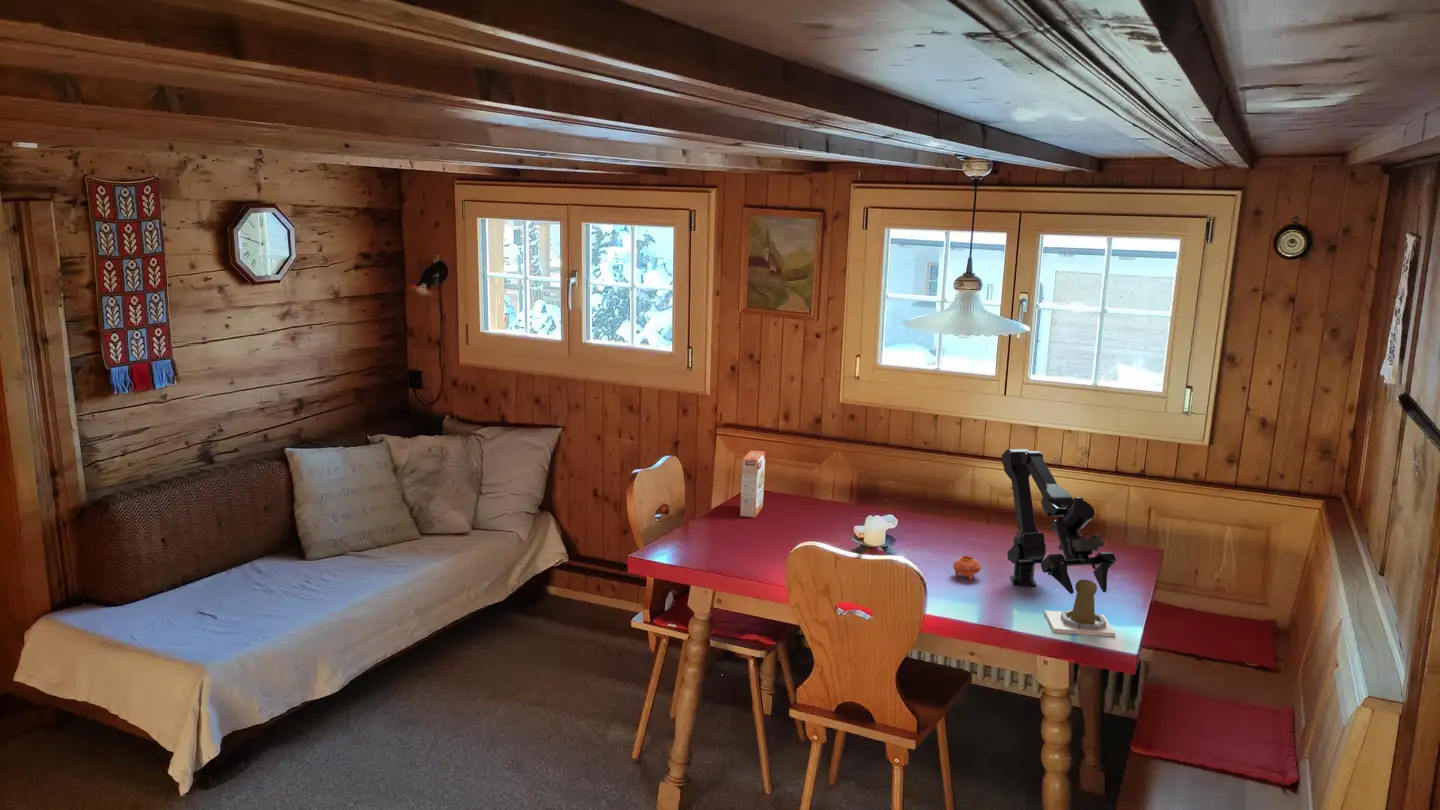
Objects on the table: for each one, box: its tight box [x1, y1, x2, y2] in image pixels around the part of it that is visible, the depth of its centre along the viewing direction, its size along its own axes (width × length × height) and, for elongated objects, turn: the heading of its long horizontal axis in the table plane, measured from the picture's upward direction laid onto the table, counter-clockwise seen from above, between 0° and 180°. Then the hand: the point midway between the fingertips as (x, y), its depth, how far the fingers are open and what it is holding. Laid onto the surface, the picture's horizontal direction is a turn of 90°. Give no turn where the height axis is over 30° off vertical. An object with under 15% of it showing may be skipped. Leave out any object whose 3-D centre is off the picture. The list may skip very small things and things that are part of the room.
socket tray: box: [1044, 608, 1116, 637], centre depth 256 cm, size 12×15×2 cm
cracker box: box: [739, 450, 767, 519], centre depth 346 cm, size 14×6×21 cm, turn 167°
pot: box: [952, 555, 982, 582], centre depth 289 cm, size 8×8×7 cm
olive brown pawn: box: [1070, 579, 1098, 624], centre depth 255 cm, size 6×6×11 cm
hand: (1088, 592), depth 253 cm, fingers open, 9 cm apart
